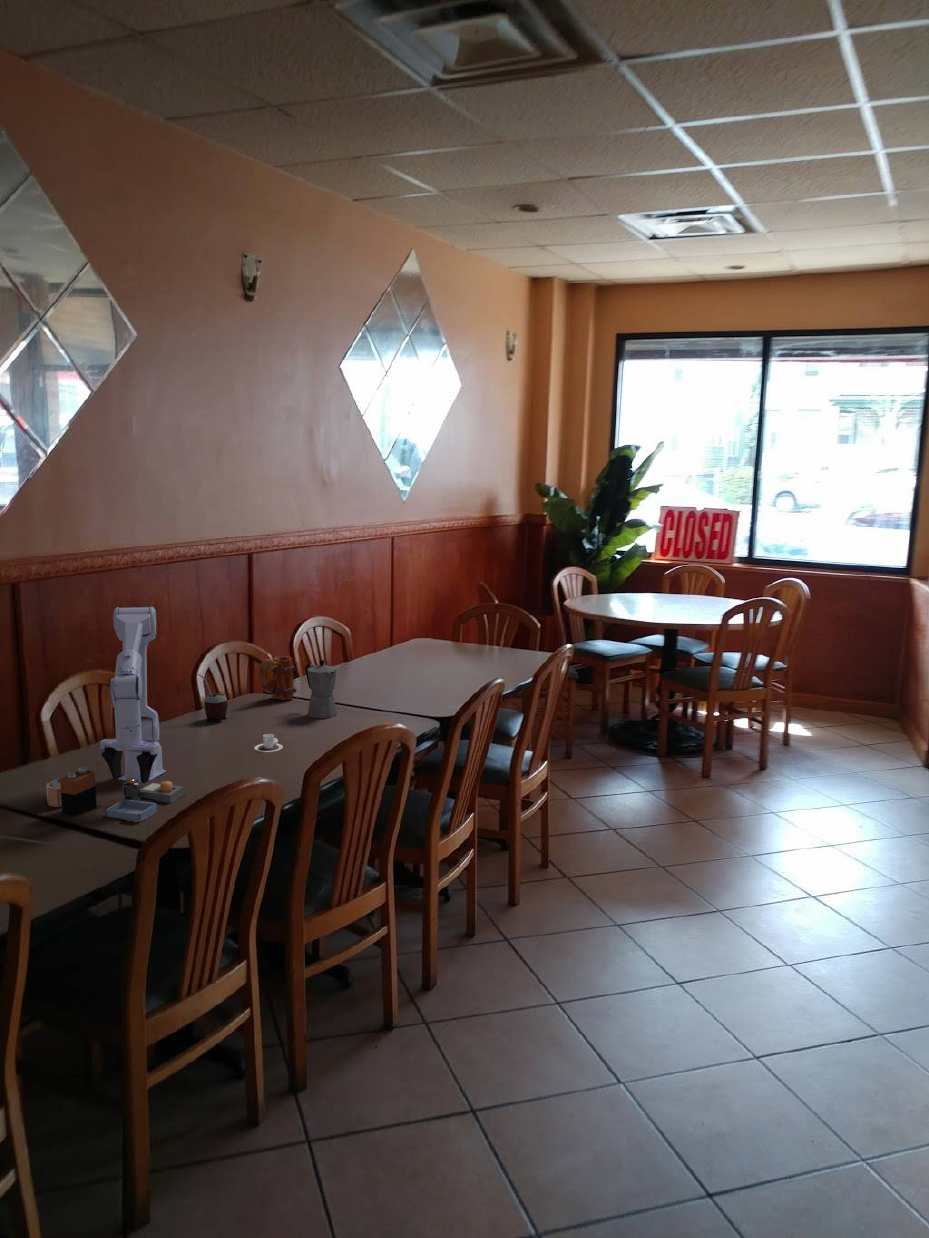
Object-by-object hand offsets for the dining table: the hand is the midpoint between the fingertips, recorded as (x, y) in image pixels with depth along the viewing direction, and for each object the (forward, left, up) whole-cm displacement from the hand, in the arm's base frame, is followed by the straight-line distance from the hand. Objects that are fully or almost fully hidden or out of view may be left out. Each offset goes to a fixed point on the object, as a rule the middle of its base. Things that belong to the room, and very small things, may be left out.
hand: (131, 780), depth 223 cm
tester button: (-6, +5, -5) cm, 10 cm away
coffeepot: (-84, +11, -6) cm, 85 cm away
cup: (+5, -16, -6) cm, 17 cm away
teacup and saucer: (-50, +14, -7) cm, 52 cm away
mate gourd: (-67, -17, -6) cm, 69 cm away
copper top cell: (0, 0, -6) cm, 6 cm away
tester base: (-6, +4, -6) cm, 9 cm away
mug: (-94, -9, -6) cm, 95 cm away
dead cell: (+5, -16, -5) cm, 17 cm away
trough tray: (+6, +4, -6) cm, 9 cm away
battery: (+8, -9, -6) cm, 13 cm away
